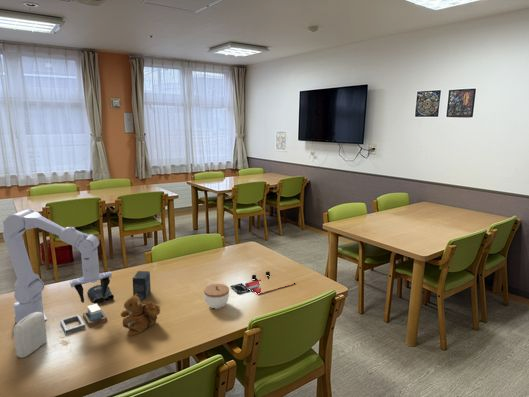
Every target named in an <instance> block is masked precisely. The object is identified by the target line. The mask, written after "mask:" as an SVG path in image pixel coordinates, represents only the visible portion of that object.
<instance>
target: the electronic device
mask: <svg viewBox="0 0 529 397" xmlns="http://www.w3.org/2000/svg"><path fill="white" fill-rule="evenodd" d="M87 296H88V298H89V299H90V300H91V301H92V303H93V304H96V303H97V302H96V301H95V300H99V301H98V304H101V303H105V302H108V301H112V300H113V299H114V298H115V296H114V294H112V292H111V290H110V286H108V287H107V289H106V293H105V297H103V296H102V293H101V284H96V285H93V286H92V287H90V288H89V289H88V290H87Z"/></svg>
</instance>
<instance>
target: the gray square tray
mask: <svg viewBox="0 0 529 397" xmlns="http://www.w3.org/2000/svg"><path fill="white" fill-rule="evenodd" d="M59 320H60V321H59V322H60V325H61V327H62V329H63V331H64V334H65V335H69V334H71V333H74V332H77V331H81V330H84V329H86V324H85V322H84V321H83V319H82V317H81V316H80V314H76V315H72V316H70V317H69V316H68V317H65V318H62V319H59ZM73 321H78V322H79V325H75V326H72V327H69V328H68V327H67V326H66V323H71V322H73Z"/></svg>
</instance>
